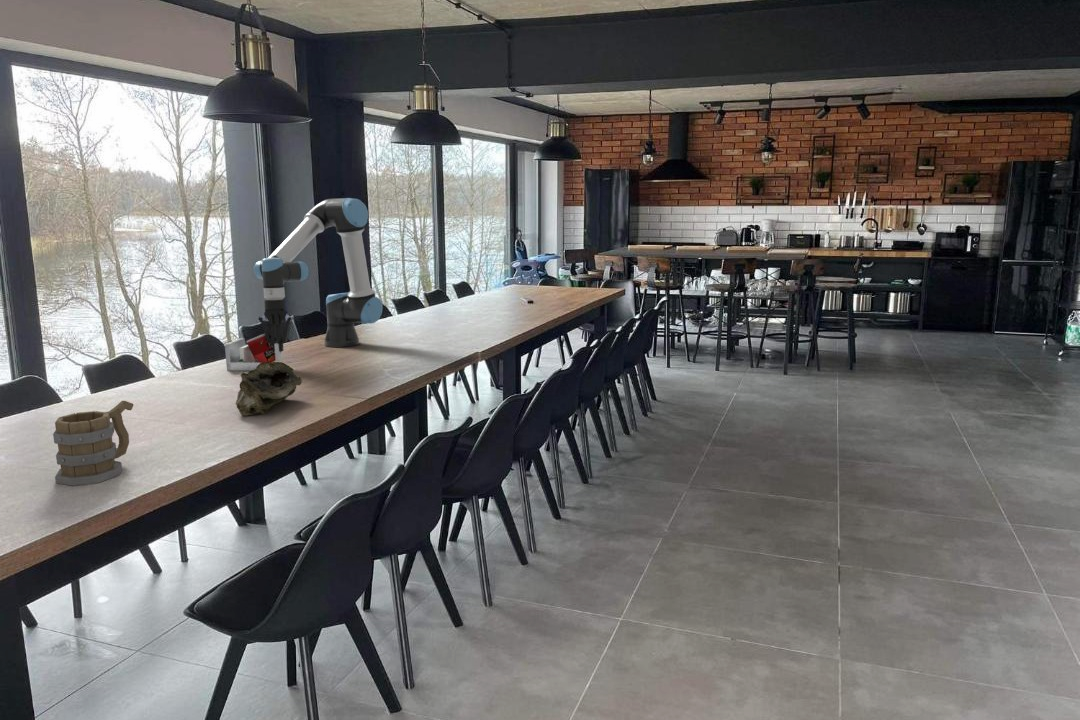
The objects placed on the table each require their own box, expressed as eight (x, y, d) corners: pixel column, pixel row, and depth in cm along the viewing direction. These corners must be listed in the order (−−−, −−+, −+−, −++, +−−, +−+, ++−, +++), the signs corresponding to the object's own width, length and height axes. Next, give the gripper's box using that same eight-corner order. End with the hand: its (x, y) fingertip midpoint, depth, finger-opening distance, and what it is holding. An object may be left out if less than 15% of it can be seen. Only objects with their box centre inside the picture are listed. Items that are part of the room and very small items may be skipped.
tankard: (84, 488, 168) (76, 422, 165) (44, 481, 172) (35, 416, 169) (159, 461, 186) (153, 401, 183) (121, 455, 190) (114, 396, 188)
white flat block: (252, 363, 303) (250, 343, 301) (256, 363, 302) (254, 343, 301) (237, 370, 289) (236, 349, 288) (241, 370, 289) (240, 349, 288)
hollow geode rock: (291, 409, 251) (260, 376, 252) (316, 384, 248) (284, 350, 248) (242, 431, 224) (208, 393, 224) (269, 403, 221) (234, 364, 221)
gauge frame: (242, 363, 304) (240, 338, 303) (274, 363, 304) (273, 338, 302) (226, 370, 291) (224, 344, 289) (260, 370, 290) (258, 344, 288)
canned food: (271, 362, 292) (259, 336, 290) (254, 369, 294) (242, 342, 292) (281, 357, 299) (269, 331, 297) (264, 363, 301) (252, 338, 299)
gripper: (253, 299, 288) (258, 361, 292) (287, 299, 288) (291, 361, 292) (261, 297, 296) (266, 358, 300) (294, 297, 295) (298, 358, 299)
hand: (278, 359), depth 296 cm, fingers closed
